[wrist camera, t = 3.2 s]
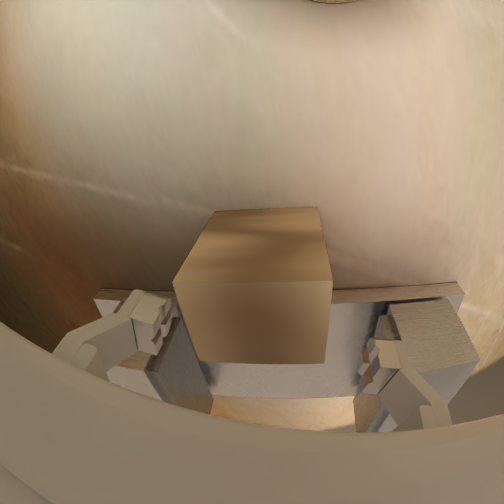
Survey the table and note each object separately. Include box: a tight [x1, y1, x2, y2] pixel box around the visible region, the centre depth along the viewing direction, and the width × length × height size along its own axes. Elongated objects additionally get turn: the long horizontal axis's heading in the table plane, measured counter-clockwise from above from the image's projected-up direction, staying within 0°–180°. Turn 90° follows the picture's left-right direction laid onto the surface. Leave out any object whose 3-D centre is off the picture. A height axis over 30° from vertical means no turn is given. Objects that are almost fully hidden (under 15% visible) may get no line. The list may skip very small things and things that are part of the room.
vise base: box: [94, 282, 465, 414], centre depth 16 cm, size 24×10×6 cm, turn 96°
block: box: [172, 207, 333, 364], centre depth 12 cm, size 5×4×6 cm
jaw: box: [353, 299, 480, 432], centre depth 14 cm, size 5×10×5 cm, turn 6°
